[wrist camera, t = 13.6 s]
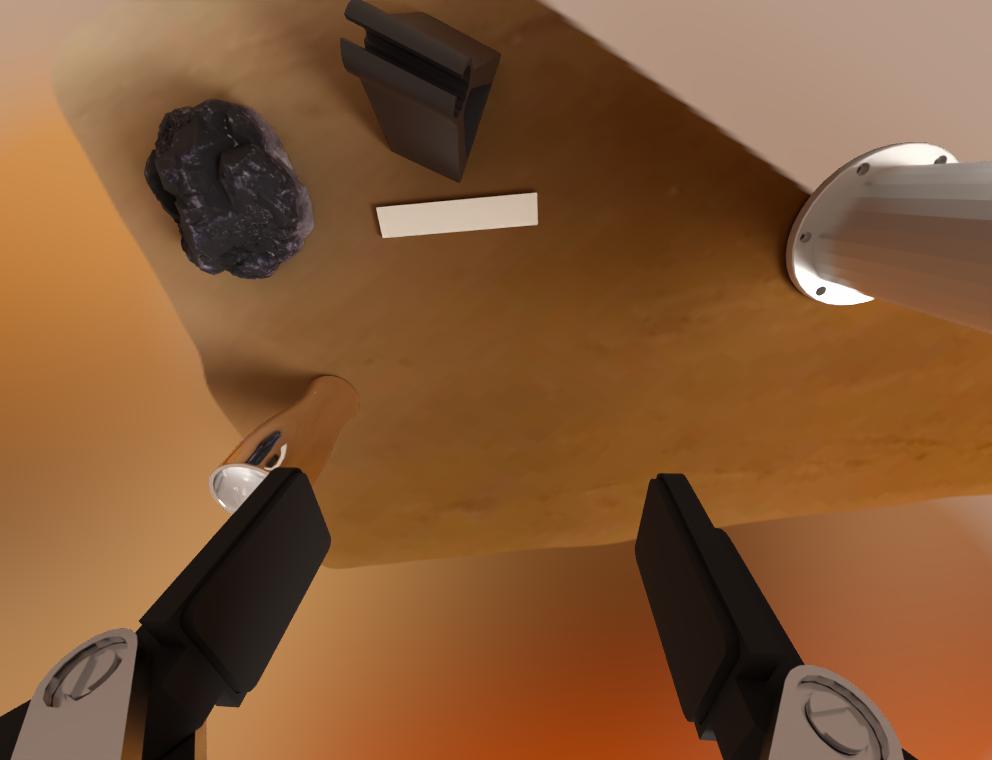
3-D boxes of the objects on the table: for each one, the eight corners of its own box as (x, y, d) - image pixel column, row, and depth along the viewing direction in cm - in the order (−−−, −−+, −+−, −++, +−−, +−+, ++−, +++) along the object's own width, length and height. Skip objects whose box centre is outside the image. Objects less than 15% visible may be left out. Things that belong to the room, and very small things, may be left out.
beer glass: (376, 398, 41) (311, 497, 28) (343, 432, 44) (270, 537, 31) (324, 359, 39) (227, 446, 26) (293, 397, 42) (191, 494, 28)
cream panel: (536, 192, 31) (537, 192, 30) (537, 224, 32) (537, 224, 31) (378, 207, 32) (375, 207, 31) (384, 237, 33) (382, 238, 32)
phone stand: (425, 14, 26) (362, -109, 15) (501, 56, 26) (493, -32, 16) (392, 151, 30) (325, 130, 19) (459, 183, 31) (431, 180, 20)
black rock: (184, 246, 35) (90, 280, 27) (146, 70, 27) (0, 43, 19) (326, 281, 37) (279, 322, 29) (326, 126, 30) (263, 122, 21)
